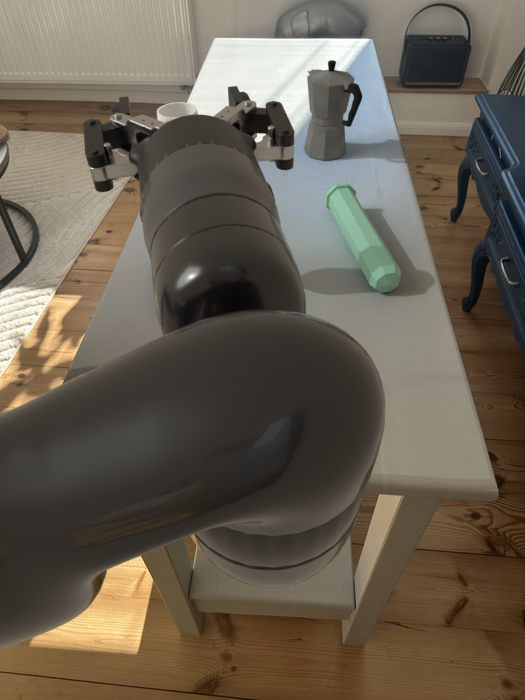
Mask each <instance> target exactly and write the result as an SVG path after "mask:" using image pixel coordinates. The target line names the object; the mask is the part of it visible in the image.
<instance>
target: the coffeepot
mask: <svg viewBox="0 0 525 700" xmlns="http://www.w3.org/2000/svg"><path fill="white" fill-rule="evenodd" d="M336 65H337V61H336V60H332V59H330V60H328V61H327V69H317V68H316V69H311V70H307V73H308V75H307V76H306V81H307V94H308V106H309V107H308V108H309V112H310V113H311V117H310V118H311V119H310V120H309V123H308V127H307V132H306V137H305V141H304V147H303V150H304V152H305V155H307V156H308V157H309V158H311V159H314V160H318V161H334V160H338V159H339V158H342V157H343V156H344V154H345V153H346V151H347V147H346V129H345V128H346V127H347V128H350V127H351V126H352V125H353V122H354V120H355V117H356V115H357V113H358V110H359V107H360V105H361V103H362V100H363V92H362V90H361V87H360V85H359V84H358V83H355V79H356V78H355V77H354V76H353V75H352V74H351V73H349V71H343V70H338V69H336ZM351 95H352V96H353V98H352V102H351V106H350V110H349V111H348V114H347V120H346V119H344V115H345V114H346V113H347V109H348V106H349V102H350V98H351Z"/></svg>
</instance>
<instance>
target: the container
mask: <svg viewBox="0 0 525 700" xmlns="http://www.w3.org/2000/svg"><path fill="white" fill-rule="evenodd" d="M324 199H325V200H324V206H325V207H326V208H327V209H328V210H329V211H330V212H331V214H332V215H333V217H334V219H335V221H336V223H337V225H338V227H339V228H340V230H341V233H342V235H343V236H344V238H345V240H346V242H347V244H348V246H349V248H350V249H351V251H352V254H353V255H354V257H355V259H356V261H357V263H358V265H359V267H360V269H361V271H362V274H363V275H364V277H365V279H366V280H367V282H368V284H369V286H370V287H372V288H373V289H374V290H376V291H377V292H379V293H380V294H382V293H389V292H392V291H393V290H394V289H396V288H397V287H399V286H400V281H401V278H402V270H401V269H400V267H399V265H398V263H397V262H396V260H395V259H394V257H393V256H392V254H391V251H390V250H389V249H388V247H387V245H386V244H385V242H384V240H383V239H382V237H381V235H380V234H379V232H378V230H377V229H376V227H375V226H374V224H373V222H372V220H371V219H370V217H369V216H368V213H367V212H366V211H365V209H364V207H363V205H362V204H361V203H360V201H359V199H358V197H357V191H356V189H355V188H354V187H353V186H352V185H351V184H349V182H344V183H343V182H341V183H335V184H334V185H332V187H331V188H330V189H328V191H327V192H326V193H325V198H324Z"/></svg>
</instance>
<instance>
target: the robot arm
mask: <svg viewBox="0 0 525 700" xmlns="http://www.w3.org/2000/svg"><path fill="white" fill-rule="evenodd" d="M227 97H228V98H227V99H228V105H226V106H225V107H223V108H222V109H221V110H219V111H218V112H217V113H216V114H214V115H213V116H212V115H209V114H199V113H198V114H196V115H186V116H182V117H179V118H176V119H173V120H171V121H167V122H161V121H159V120H158V119H156V118H154V117H151V116H148V115H146V114H142V113H141V114H140V115H136V116H133V112H132V108H131V107H132V106H131V103H130V98H129V96H119V97H118V103H113V104H112V105H111V107H110V115H109V121H108V122H106V123H102V121H101V120H100V119H98V118H97V119H96V118H90V119H88V120H85V121H84V122H83V125H82V126H83V127H82V128H83V142H84V155H85V158H86V161H87V165H88V168H89V173H90V175H91V179H92V182H93V185H94V189H95V191H96V192H98V193H107V192H110V191H111V190H113V189H114V186H115V185H114V181H118V180H120V178H121V179H122V178H127V177H128V178H129V177H133V178H134V179H135V180H136V181H137V182H138V186H139V198H140V199H139V200H140V203H139V218H140V222H141V223H142V233H143V239H144V243H145V247H146V251H147V254H148V255H149V260H150V264H151V276H152V287H153V288H152V289H153V299H154V304H155V305H154V306H155V312H156V315H157V319H158V323H159V326H160V327H159V328H160V331H161V334H162V335H161V336H160V337H157V338H155V339H153V340H151V341H149V342H147V343H145V344H143V345H141V346H139V347H135V349H132V350H130V351H128V352H126V353H124V354H122V355H120V356H118V357H116V358H114V359H112V360H110V361H107V362H105V363H104V364H102V365H99V366H96V367H95V368H93V369H90V370H88V371H86V372H83V373H81V374H79V375H77V376H75V377H73V378H71V379H69V380H67V381H65V382H63V383H62V384H59V385H57V386H55V387H54V388H51V389H50V390H48V391H46V392H44V393H43V394H40V395H39V396H37V397H35V398H33V399H31V400H29V401H27V402H25V403H23V404H21V405H18V406H16V407H14V408H11V409H9V410H6V411H2V412H0V649H4V648H6V647H10V646H14V645H16V644H20V643H22V642H25V641H28V640H31V639H33V638H36V637H38V636H41V635H44V634H46V633H48V632H50V631H53V630H55V629H57V628H59V627H61V626H63V625H65V624H67V623H69V622H71V621H73V620H74V619H76V618H77V617H79V616H80V615H81V614H83V613H84V612H85V611H87V609H88V608H89V607H90V606H91V605H92V604H93V602H94V601H95V599H96V598H97V596H98V595H99V594H100V592H101V589H102V588H103V585H104V583H105V580H106V577H107V573H108V570H110V569H113V568H115V567H118V566H120V565H122V564H124V563H125V564H126V563H127V562H130V561H132V560H134V559H136V558H139V557H141V556H143V555H146V554H148V553H150V552H153V551H157V550H159V549H160V548H163V547H166V546H167V545H170V544H172V543H175V542H177V541H180V540H182V539H186V538H189V537H190V538H191V539H192V541H193V543H194V544H195V545H196V547H197V548H198V550H199V551H200V552H201V554H202V555H203V556H204V557H205V559H207V560H208V561H209V562H210V563H211V564H212V565H213V566H215V568H216V569H218V570H219V571H221V572H222V573H224V574H225V575H227V576H229V577H230V578H232V579H234V580H236V581H238V582H241V583H244V584H247V585H250V586H254V587H260V588H272V589H273V588H283V587H284V588H285V587H288V586H293V585H296V584H300V583H302V582H305V581H306V580H309V579H311V578H312V577H315V576H316V575H317V574H319V573H320V572H321V571H323V570H324V569H325V568H326V567H327V566H328V565H329V564H330V563H332V561H333V560H334V559H335V558H336V557H337V556H338V555H339V554H340V553H341V551H342V549H343V548H344V547H345V545H346V543H347V542H348V540H349V538H350V536H351V534H352V531H353V529H354V527H355V525H356V522H357V519H358V516H359V512H360V510H361V506H362V503H363V500H364V497H365V494H366V492H367V488H368V485H369V482H370V479H371V476H372V473H373V470H374V467H375V464H376V462H377V458H378V457H379V452H380V449H381V445H382V442H383V438H384V434H385V433H384V432H385V425H386V397H385V390H384V386H383V381H382V378H381V375H380V373H379V370H378V368H377V366H376V364H375V363H374V361H373V358H372V357H371V356H370V354H369V353H368V351H367V350H366V348H365V347H364V346H362V345H361V344H360V342H359V341H357V340H356V339H355V338H354V337H353V336H352V335H350V334H349V333H348V331H346V330H344V329H342V328H340V326H337V325H335V324H334V323H331V322H330V321H327V320H325V319H322V318H319V317H317V316H314V315H311V314H308V313H307V303H306V302H307V301H306V292H305V286H304V282H303V278H302V275H301V272H300V269H299V266H298V264H297V261H296V259H295V258H294V255H293V253H292V250H291V247H290V245H289V243H288V241H287V237H286V236H285V234H284V231H283V227H282V224H281V219H280V214H279V210H278V205H277V203H276V198H275V194H274V192H273V189H272V186H271V184H269V182H268V181H267V179H266V178H265V175H264V172H263V171H262V168H261V166H260V164H259V162H269V163H274V164H275V167H276V168H277V169H278V170H281V171H291V170H292V169H293V168H294V158H295V129H294V127H293V125H292V123H291V121H290V118H289V116H288V114H287V112H286V110H285V107H284V106H283V103H282V102H280V101H277V100H271V101H268V102H266V103H265V107H258V106H257V102H256V101H254V100H251V98H250V96H249V94H248V92H247V93H246V91H240V90H239V87H238V86H237V85H234V86H233V85H231V86H227ZM258 134H260V135H263V136H262V139H261V140H260V141H257V142H256V140H255V139H257V137H258ZM114 150H117V151H114Z"/></svg>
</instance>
